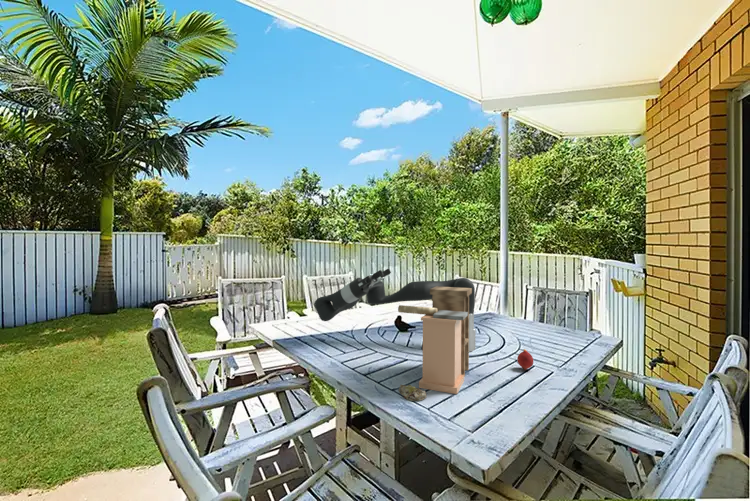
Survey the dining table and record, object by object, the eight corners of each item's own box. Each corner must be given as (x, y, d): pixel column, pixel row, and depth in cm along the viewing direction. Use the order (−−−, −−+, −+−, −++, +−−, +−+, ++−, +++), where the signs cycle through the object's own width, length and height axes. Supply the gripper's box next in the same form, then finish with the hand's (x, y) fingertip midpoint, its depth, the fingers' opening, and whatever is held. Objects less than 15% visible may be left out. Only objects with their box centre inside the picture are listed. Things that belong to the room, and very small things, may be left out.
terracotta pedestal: (418, 387, 122) (419, 317, 122) (429, 375, 134) (429, 311, 134) (457, 394, 117) (457, 321, 117) (464, 380, 129) (464, 314, 128)
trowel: (394, 314, 128) (394, 307, 128) (403, 310, 136) (403, 303, 136) (463, 320, 118) (463, 312, 118) (467, 315, 126) (467, 308, 126)
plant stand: (429, 372, 137) (429, 289, 136) (436, 364, 146) (436, 286, 145) (466, 378, 131) (467, 291, 130) (471, 369, 140) (471, 288, 139)
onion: (532, 368, 142) (532, 348, 142) (534, 372, 136) (534, 352, 136) (516, 366, 144) (517, 346, 144) (517, 371, 138) (517, 350, 138)
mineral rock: (434, 390, 115) (418, 389, 110) (432, 404, 114) (415, 404, 109) (409, 381, 123) (393, 381, 118) (407, 394, 122) (391, 394, 117)
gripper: (342, 284, 141) (374, 264, 136) (357, 280, 154) (387, 262, 149) (350, 301, 140) (384, 281, 134) (365, 296, 153) (396, 278, 147)
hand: (386, 271), depth 141 cm, fingers open, 8 cm apart
